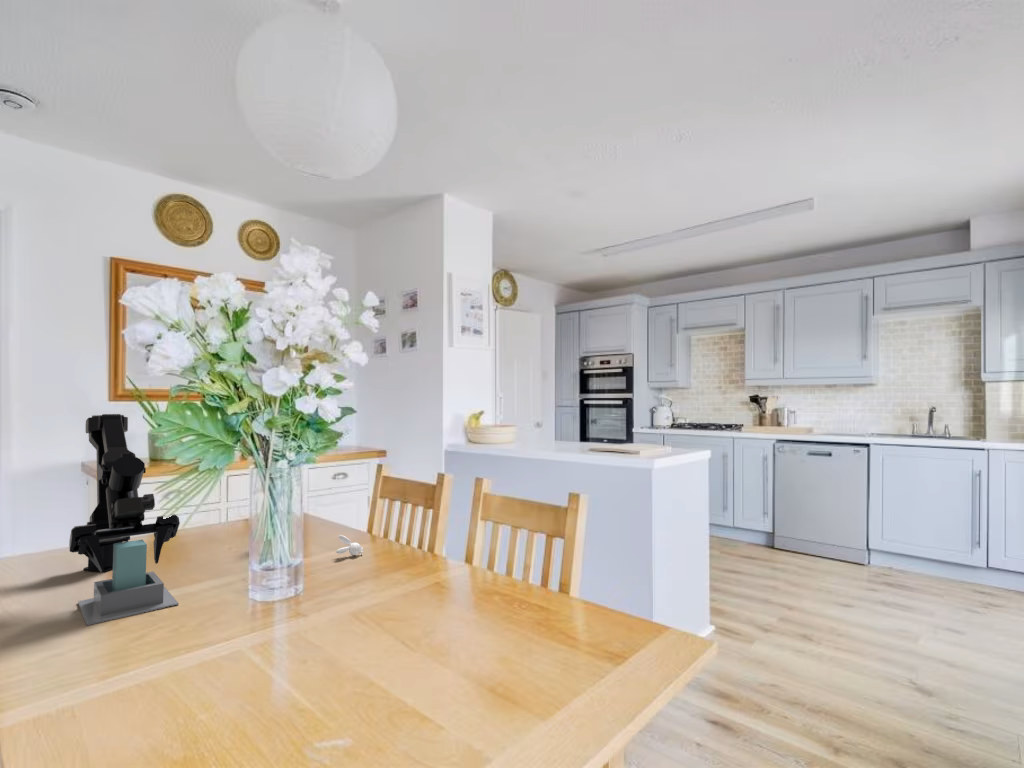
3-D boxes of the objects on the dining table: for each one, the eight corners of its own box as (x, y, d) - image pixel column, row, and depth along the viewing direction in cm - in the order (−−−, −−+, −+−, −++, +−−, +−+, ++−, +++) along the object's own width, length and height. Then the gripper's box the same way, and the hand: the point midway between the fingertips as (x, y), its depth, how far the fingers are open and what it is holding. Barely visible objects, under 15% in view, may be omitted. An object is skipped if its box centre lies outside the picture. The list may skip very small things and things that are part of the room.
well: (78, 603, 111) (78, 581, 112) (162, 586, 122) (163, 566, 122) (86, 625, 101) (87, 601, 101) (178, 605, 111) (179, 583, 111)
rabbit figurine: (365, 558, 145) (338, 547, 142) (357, 567, 147) (330, 557, 143) (367, 541, 150) (341, 531, 147) (359, 550, 152) (334, 540, 148)
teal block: (111, 601, 111) (113, 543, 112) (140, 595, 115) (142, 539, 115) (115, 608, 108) (117, 548, 108) (144, 602, 111) (146, 544, 112)
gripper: (72, 486, 108) (76, 553, 100) (179, 478, 121) (190, 536, 113) (67, 519, 114) (70, 585, 105) (169, 508, 127) (179, 565, 118)
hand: (130, 566), depth 110 cm, fingers open, 9 cm apart
